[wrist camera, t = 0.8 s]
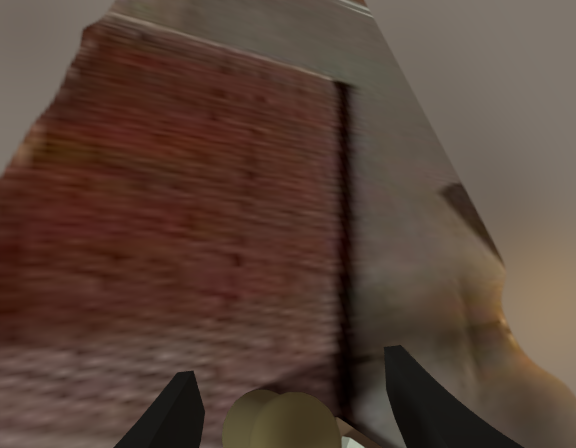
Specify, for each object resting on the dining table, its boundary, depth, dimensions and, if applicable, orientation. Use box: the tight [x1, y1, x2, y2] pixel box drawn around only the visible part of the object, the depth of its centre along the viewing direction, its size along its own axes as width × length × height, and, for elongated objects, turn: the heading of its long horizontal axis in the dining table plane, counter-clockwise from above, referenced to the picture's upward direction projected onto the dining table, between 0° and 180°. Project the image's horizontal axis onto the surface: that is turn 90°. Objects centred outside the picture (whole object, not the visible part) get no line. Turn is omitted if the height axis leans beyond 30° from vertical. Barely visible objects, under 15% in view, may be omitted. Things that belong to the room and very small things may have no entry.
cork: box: [222, 390, 342, 448], centre depth 22 cm, size 6×6×11 cm
